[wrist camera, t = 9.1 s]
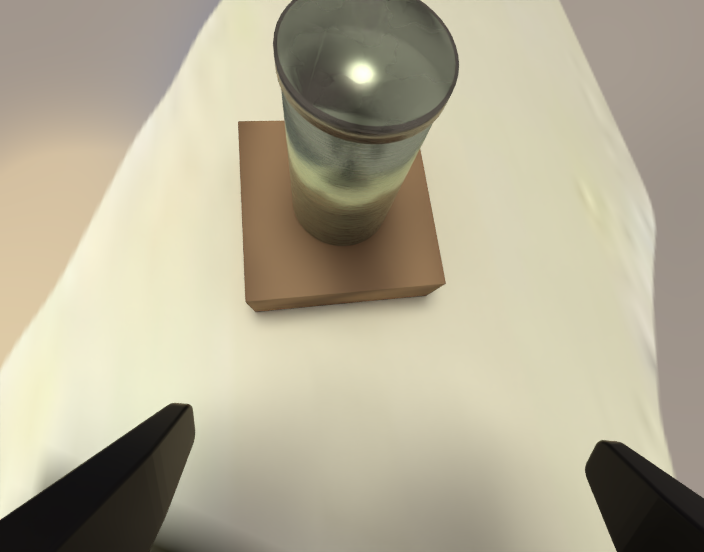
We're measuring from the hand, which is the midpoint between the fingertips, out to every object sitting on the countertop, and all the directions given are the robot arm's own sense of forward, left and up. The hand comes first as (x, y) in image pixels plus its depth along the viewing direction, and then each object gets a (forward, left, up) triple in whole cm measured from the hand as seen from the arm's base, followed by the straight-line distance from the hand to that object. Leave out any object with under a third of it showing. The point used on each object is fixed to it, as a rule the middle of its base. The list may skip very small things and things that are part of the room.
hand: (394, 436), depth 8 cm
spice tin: (+1, +10, -8) cm, 13 cm away
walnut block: (+1, +10, -11) cm, 15 cm away
